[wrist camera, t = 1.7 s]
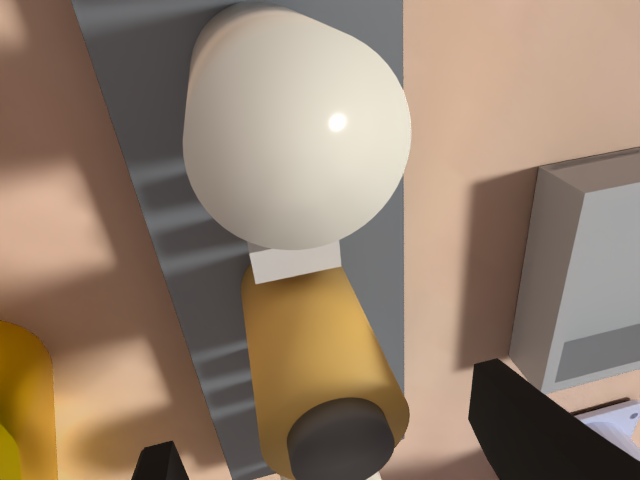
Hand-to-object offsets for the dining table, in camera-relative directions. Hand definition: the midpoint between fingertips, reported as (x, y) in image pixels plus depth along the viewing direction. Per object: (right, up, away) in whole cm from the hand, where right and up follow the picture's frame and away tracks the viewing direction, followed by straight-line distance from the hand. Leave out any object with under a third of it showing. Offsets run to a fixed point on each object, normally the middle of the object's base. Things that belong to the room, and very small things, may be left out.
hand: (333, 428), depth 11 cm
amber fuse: (-1, +3, +5) cm, 6 cm away
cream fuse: (-2, +9, +1) cm, 9 cm away
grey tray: (+13, +4, +10) cm, 17 cm away
